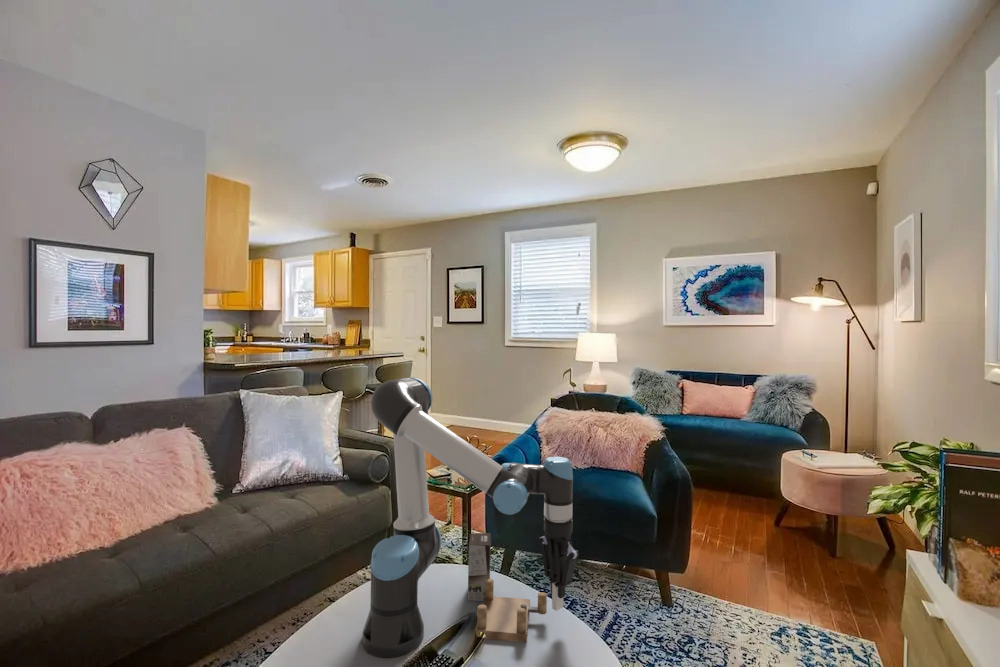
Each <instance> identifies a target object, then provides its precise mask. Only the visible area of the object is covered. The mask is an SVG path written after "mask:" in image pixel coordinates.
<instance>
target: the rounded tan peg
mask: <svg viewBox="0 0 1000 667" xmlns="http://www.w3.org/2000/svg"><path fill="white" fill-rule="evenodd" d="M547 596H548V595H547V593H545V592H543V591H542V592H537V606H532V605H530V606H528V612H529V613H531V614H532V613H533V614H534V613H536V614H539V615H546V614H547V605H548V604H547V603H548V600H547V598H548V597H547Z"/></svg>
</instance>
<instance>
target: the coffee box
mask: <svg viewBox="0 0 1000 667" xmlns="http://www.w3.org/2000/svg"><path fill="white" fill-rule="evenodd" d="M491 537H492V534H491V533H490V532H480V533H479V532H478V533H477V532H476V533H474V532H472V533H470V536H469V543H468V564H467V565H468V567H467V568H468V569H467V571H468V572H467V574H468V576H467V600H468V601H475V602H477V601H478V602H479V601H480V602H483V601H484V598H485V580H486V579H491V551H492V550H491V541H492V539H491Z"/></svg>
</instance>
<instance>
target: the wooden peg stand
mask: <svg viewBox="0 0 1000 667" xmlns="http://www.w3.org/2000/svg"><path fill="white" fill-rule="evenodd" d="M494 582H495V581H494V579H492V578H490V579H486V580H485V598H484V601H482V604H479V605H478V606H477V608H476V609H477V612H476V616H477V618H476V620H477V621H476V627H475V631H476V632H484V633H485V635H486V637H485V639H486V640H495V641H496V640H497V641H505V642H506V641H508V642H518V643H527V641H528V640H527V639H528V630H529V620H530V612H528V606H531V599H530V598H522V597H521V598H520V597H519V598H518V597H517V598H516V597H505V596H496V595H495V596H494V587H495V586H494ZM475 631H474V632H475ZM485 639H484V640H485Z"/></svg>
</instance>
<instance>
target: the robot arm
mask: <svg viewBox="0 0 1000 667" xmlns="http://www.w3.org/2000/svg"><path fill="white" fill-rule="evenodd" d="M432 404H433V393H432V390H431V388H430V386H429V385H428V384H427V383H426V382H425V381H424V380H423V379H420V378H417V377H408V376H406V377H401V378H398V379H391V380H387V381H384V382H382V383H381V384H379V385H378V386H377V387H376V388H375V390H374V391H373V393H372V396H371V398H370V408H371V411H372V414H373V415H374V417H375V419H376V420H377V421H378V422H379V423H380V424H381V425H382V426H383V427H384V428H386V429H387V430H388V431H390V432H391V433H392V434H393V450H394V464H395V466H394V467H395V483H396V496H397V498H396V499H397V500H396V501H397V512H398V513H397V515H398V516H397V518H396V520H394V522H393V524H392V525H393V535H391V536H390V537H389V538H387V537H386V538H384V539H382V540H380V541H379V542H377V544H375V546H374V548H373V550H372V552H371V560H370V609H369V612H368V615H367V618H366V621H365V623H364V627H363V630H362V640H361V641H362V647H363V649H365V651H366V652H367V653H368V654H370V655H373V656H375V657H380V658H395V657H400V656H403V655H406V654H409V653H410V652H412V651H414V650H415V649H417V647H419V646H420V644H422V642H423V639H424V635H425V630H424V628H425V625H424V622H423V617H422V615H421V611H420V608H419V605H418V593H419V592H418V590H419V586H418V585H419V580H420V578H421V577H422V575H423V574H424V573H425V572H426V571H427V570H428V568H429V567H430V566H431V564H432V563H433V562H434V561H435V560H436V559H437V557H438V555H439V552H440V550H441V547H442V542H443V541H442V534H441V531H440V529H439V527H438V526H437V525H436V519H435V516H433V515H432V514H431V513H430V508H429V494H428V493H429V492H428V477H427V463H426V462H427V461H426V452H427V453H428V454H429V455H431V456H432V457H433V458H435V459H437V460H438V461H440V462H441V463H442V464H443V465H445V466H446V467H448V469H449V468H450V469H451V470H452V471H454V472H455V473H456V474H457V475H459V476H461V478H464V479H465V480H466V481H467V482H469V483H470V484H472V485H474V487H476V488H477V489H479V490H480V491H482V492H483V493H485V494H486V495H488V497H490V498H492V501H493V505H494V506H495V508H496V509H497V511H499V512H500V513H502V514H504V515H515V514H517V513H519V512H520V511H521V510H522V509H523V507H524V506H526V504H527V502H528V498H529V496H530V494H532V495H543V516H544V517H543V531H544V535H543V536H540V537H538V538H537V539H538V542H539V543H538V544H539V546H540V550H541V556H542V558H541V559H542V563H543V571H544V576H545V577H546V578H549V581H550V593H551V597H552V598H551V608H552V610H554V611H555V612H557V611H559V610H561V609H563V608H564V598H565V596H566V587H567V586H568V585H571V584H572V581H573V578H574V577H573V576H574V572H575V571H574V570H575V566H576V563H577V562H576V561H577V558H578V557H579V555H580V551H579V550H577V549H574V547H573V546H572V545H573V542H572V539H571V536H572V534H573V499H574V498H573V496H574V495H573V494H574V492H573V490H574V489H573V488H574V475H573V474H574V473H573V463H572V461H571V459H569V458H567V457H563V456H549V457H546V458H545V459H544V461H543V462H544V463H543V464H532V463H519V462H504V463H502V464H500V463H498V462H496V461H495V460H494V459H492V458H491V457H489V456H488V455H486V454H485V452H484V453H483V452H482V451H481V450H480V449H478V448H476V447H475V446H474V445H472V444H471V443H469V442H468V441H466V440H465V439H464V438H462V437H460V436H459V435H458V434H456V433H455V432H453V431H452V430H451V429H449V428H447V427H446V426H445V425H444V424H442V423H441V422H439V421H437V420H436V419H435V418H433V417H431V416H430V415H429V410H430V408H431V406H432Z"/></svg>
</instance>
